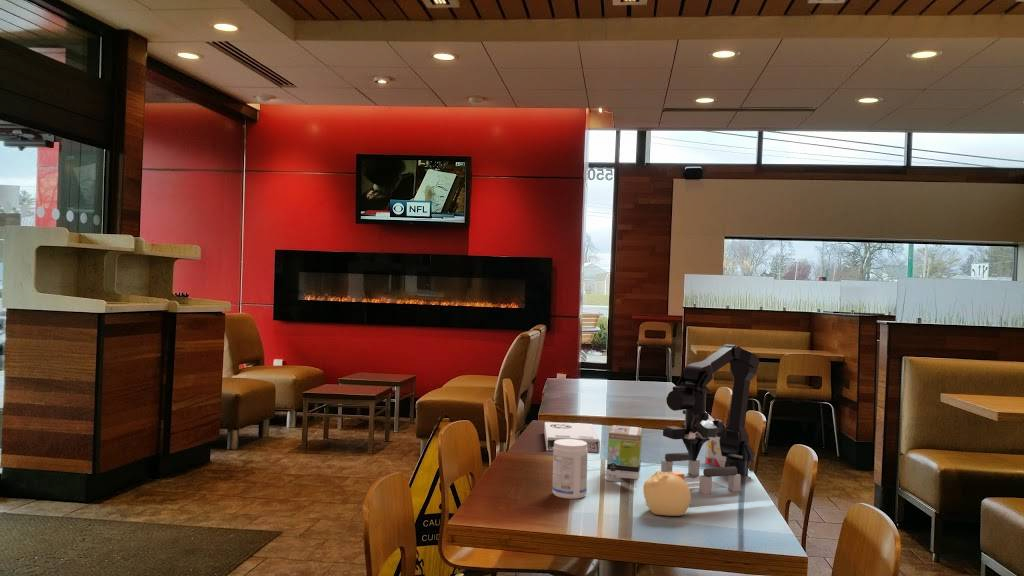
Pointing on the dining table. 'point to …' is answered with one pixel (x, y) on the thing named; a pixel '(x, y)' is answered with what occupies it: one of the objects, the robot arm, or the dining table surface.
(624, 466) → the tea box
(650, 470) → the dining table surface
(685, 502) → the tan rounded lump
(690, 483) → the panel
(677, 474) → the block
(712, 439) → the ink box
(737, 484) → the grey bar with posts
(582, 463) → the supplement tub
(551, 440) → the flat white box
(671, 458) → the grey u-shaped handle
